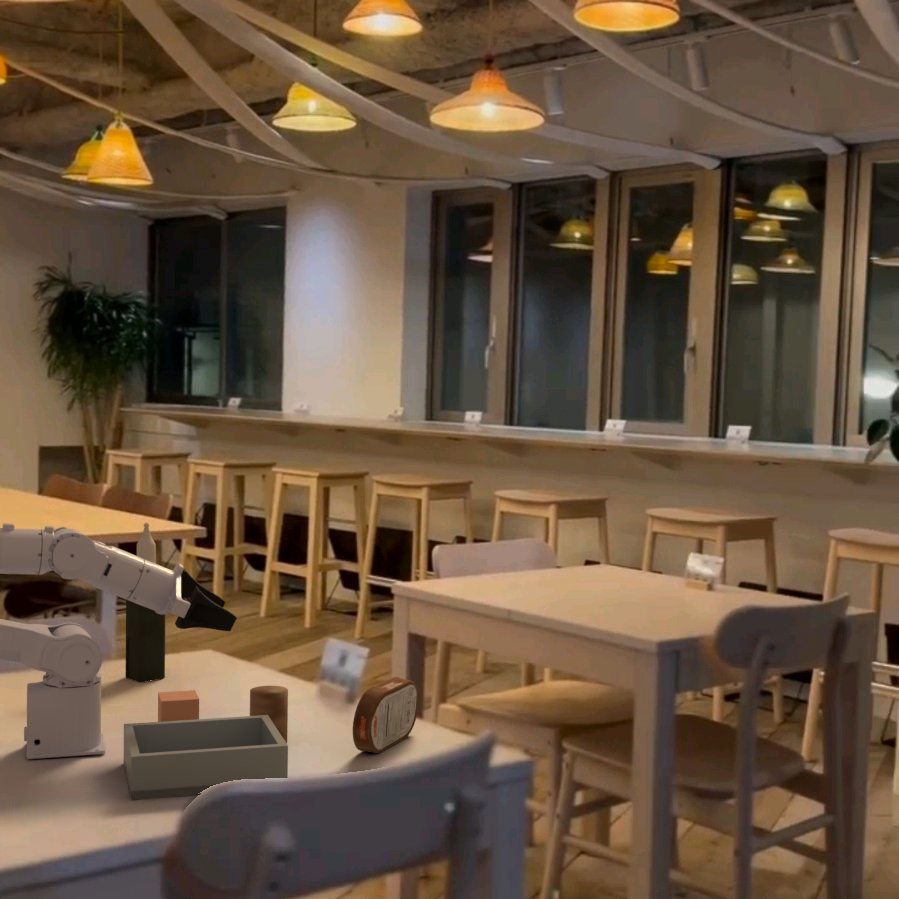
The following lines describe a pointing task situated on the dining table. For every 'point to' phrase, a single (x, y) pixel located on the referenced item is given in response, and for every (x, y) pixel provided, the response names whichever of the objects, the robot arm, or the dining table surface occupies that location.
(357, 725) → the tin
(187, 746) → the tote
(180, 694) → the terracotta cube
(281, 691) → the walnut cylinder
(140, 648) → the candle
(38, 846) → the dining table surface
